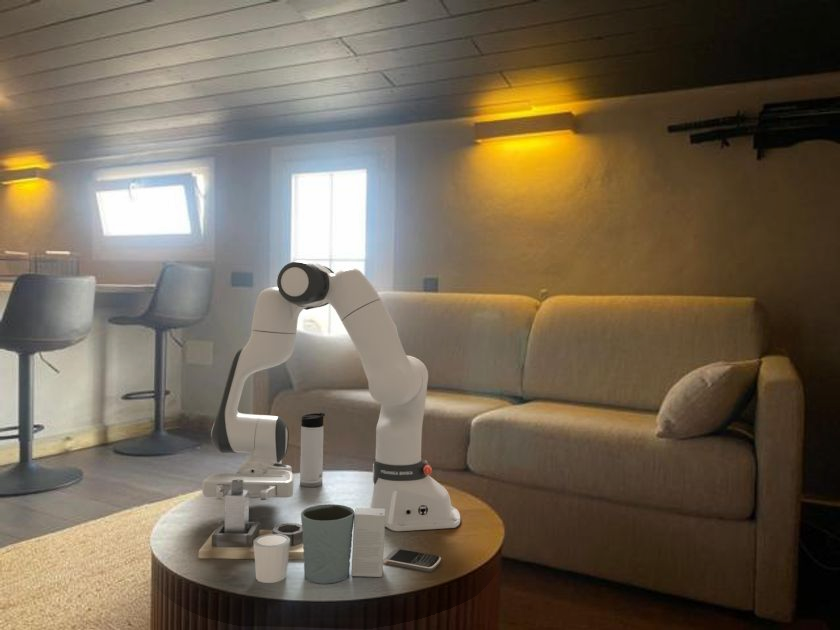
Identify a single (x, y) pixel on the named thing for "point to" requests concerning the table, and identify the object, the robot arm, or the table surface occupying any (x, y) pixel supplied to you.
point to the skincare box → (368, 542)
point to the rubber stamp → (237, 509)
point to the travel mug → (311, 450)
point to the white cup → (271, 557)
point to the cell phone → (412, 560)
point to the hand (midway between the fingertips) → (241, 496)
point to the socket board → (249, 541)
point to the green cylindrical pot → (327, 542)
